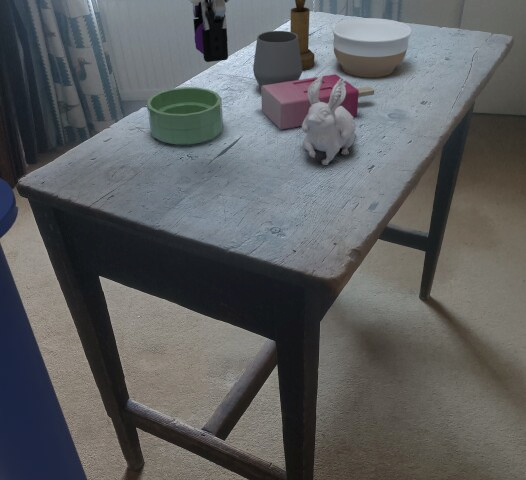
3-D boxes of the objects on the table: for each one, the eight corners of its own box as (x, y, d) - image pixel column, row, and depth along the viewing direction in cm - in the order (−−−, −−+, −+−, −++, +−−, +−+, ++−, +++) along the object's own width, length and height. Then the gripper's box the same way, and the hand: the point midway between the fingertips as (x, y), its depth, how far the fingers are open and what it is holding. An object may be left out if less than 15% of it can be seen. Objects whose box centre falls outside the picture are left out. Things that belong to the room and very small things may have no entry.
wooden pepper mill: (290, 72, 123) (292, -24, 112) (278, 63, 128) (278, -31, 116) (319, 67, 125) (323, -28, 113) (306, 58, 130) (309, -34, 118)
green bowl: (158, 152, 95) (154, 119, 92) (146, 123, 104) (141, 92, 101) (231, 141, 98) (229, 109, 95) (212, 113, 107) (210, 83, 103)
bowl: (360, 51, 133) (363, 13, 128) (421, 67, 124) (427, 27, 119) (314, 69, 124) (316, 29, 119) (376, 87, 115) (381, 45, 110)
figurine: (288, 166, 91) (289, 84, 83) (320, 128, 101) (323, 52, 93) (338, 175, 88) (344, 91, 80) (365, 135, 99) (373, 58, 91)
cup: (294, 79, 120) (294, 27, 113) (307, 96, 113) (309, 41, 106) (248, 84, 118) (247, 31, 112) (259, 101, 111) (258, 46, 105)
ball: (199, 62, 78) (196, 27, 75) (193, 52, 81) (190, 18, 78) (231, 59, 79) (230, 24, 76) (224, 49, 82) (222, 15, 79)
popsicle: (385, 85, 103) (280, 103, 98) (382, 112, 106) (280, 130, 101) (360, 69, 110) (261, 85, 104) (358, 94, 113) (261, 111, 107)
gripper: (157, -114, 73) (173, 39, 85) (182, -99, 61) (197, 78, 73) (215, -117, 75) (223, 34, 87) (251, -103, 63) (255, 71, 74)
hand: (211, 53), depth 80 cm, fingers closed on ball, 4 cm apart
